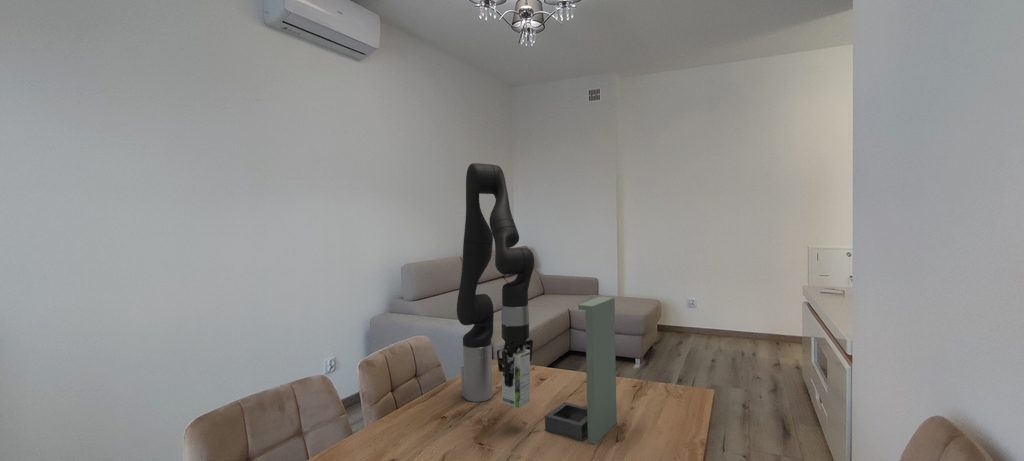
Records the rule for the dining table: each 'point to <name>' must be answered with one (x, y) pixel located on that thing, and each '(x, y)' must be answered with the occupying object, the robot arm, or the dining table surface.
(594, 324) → the long narrow green plank
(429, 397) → the dining table surface
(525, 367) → the syrup box
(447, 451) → the dining table surface
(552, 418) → the socket
